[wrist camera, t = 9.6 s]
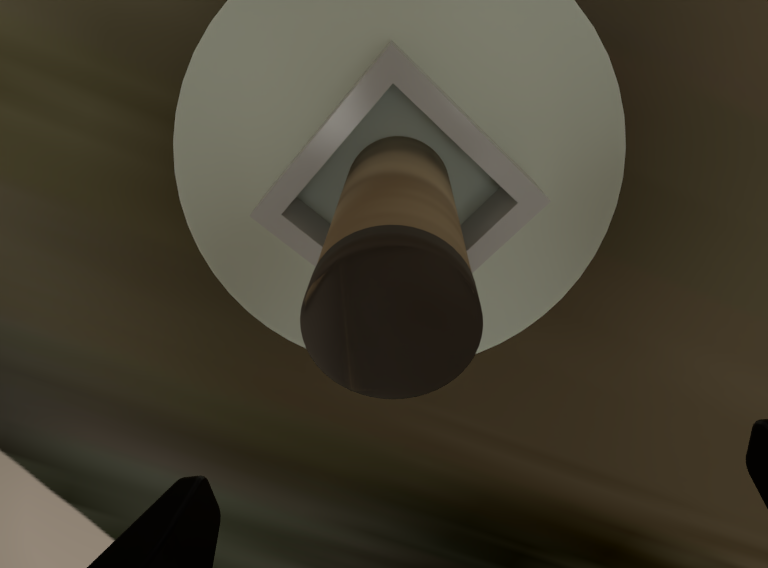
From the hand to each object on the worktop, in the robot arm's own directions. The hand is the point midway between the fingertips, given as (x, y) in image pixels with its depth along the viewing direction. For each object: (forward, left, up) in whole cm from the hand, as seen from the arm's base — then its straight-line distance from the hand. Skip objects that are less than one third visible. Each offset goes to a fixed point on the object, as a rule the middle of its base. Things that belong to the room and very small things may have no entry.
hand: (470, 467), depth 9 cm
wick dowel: (+1, +2, -9) cm, 9 cm away
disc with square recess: (+1, +2, -13) cm, 13 cm away
